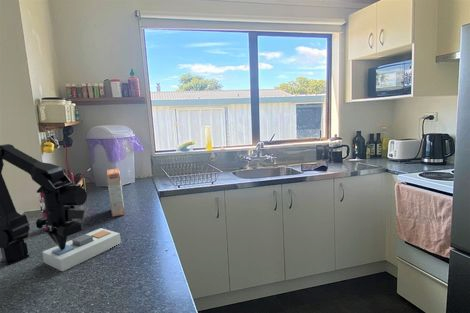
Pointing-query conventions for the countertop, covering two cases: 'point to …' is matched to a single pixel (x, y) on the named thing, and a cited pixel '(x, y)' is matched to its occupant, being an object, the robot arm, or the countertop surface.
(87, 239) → the key charcoal
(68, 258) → the keypad
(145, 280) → the countertop surface
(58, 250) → the key slate
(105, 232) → the tan square block
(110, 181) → the cracker box
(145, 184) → the countertop surface
